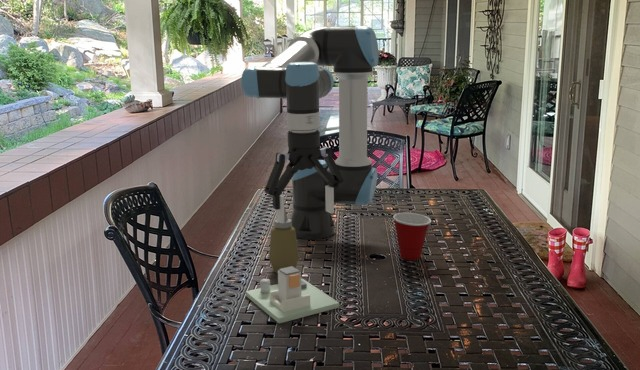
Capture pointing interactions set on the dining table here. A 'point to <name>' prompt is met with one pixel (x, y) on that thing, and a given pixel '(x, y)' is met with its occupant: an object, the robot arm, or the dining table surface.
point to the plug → (289, 283)
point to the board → (291, 301)
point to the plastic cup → (411, 234)
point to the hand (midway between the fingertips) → (305, 216)
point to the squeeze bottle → (283, 245)
